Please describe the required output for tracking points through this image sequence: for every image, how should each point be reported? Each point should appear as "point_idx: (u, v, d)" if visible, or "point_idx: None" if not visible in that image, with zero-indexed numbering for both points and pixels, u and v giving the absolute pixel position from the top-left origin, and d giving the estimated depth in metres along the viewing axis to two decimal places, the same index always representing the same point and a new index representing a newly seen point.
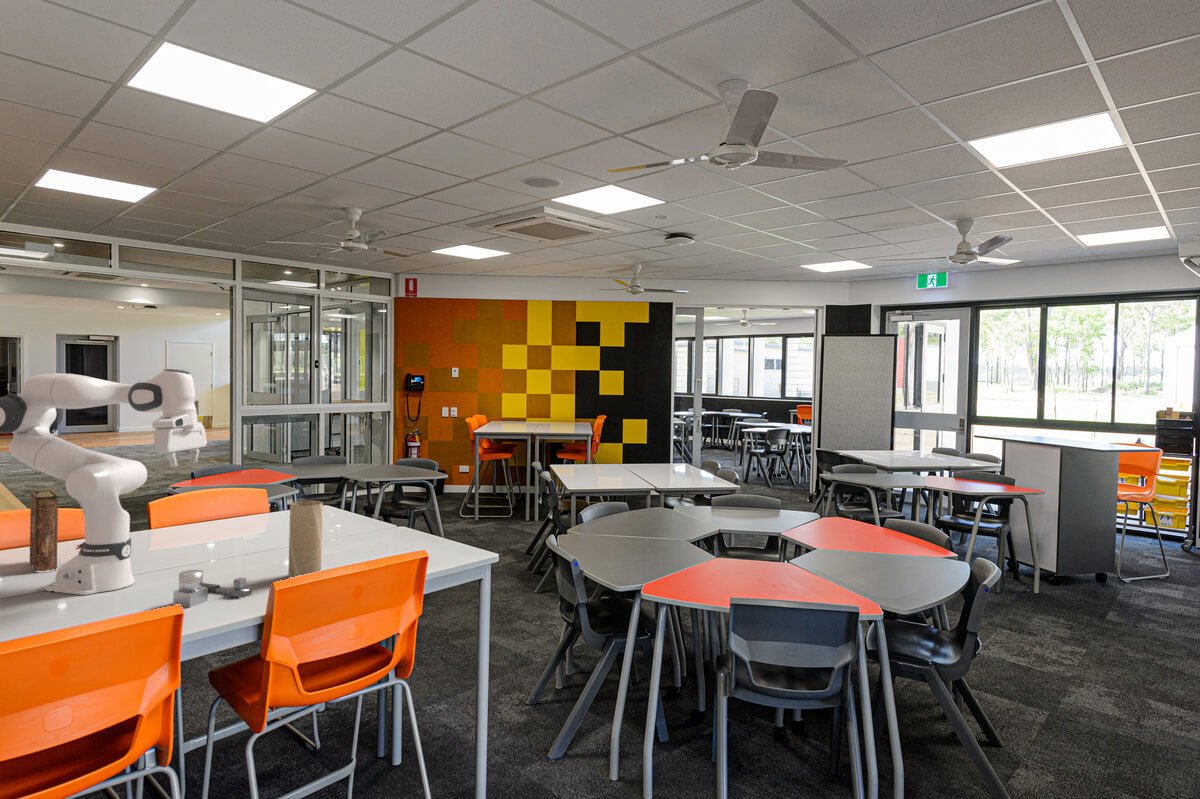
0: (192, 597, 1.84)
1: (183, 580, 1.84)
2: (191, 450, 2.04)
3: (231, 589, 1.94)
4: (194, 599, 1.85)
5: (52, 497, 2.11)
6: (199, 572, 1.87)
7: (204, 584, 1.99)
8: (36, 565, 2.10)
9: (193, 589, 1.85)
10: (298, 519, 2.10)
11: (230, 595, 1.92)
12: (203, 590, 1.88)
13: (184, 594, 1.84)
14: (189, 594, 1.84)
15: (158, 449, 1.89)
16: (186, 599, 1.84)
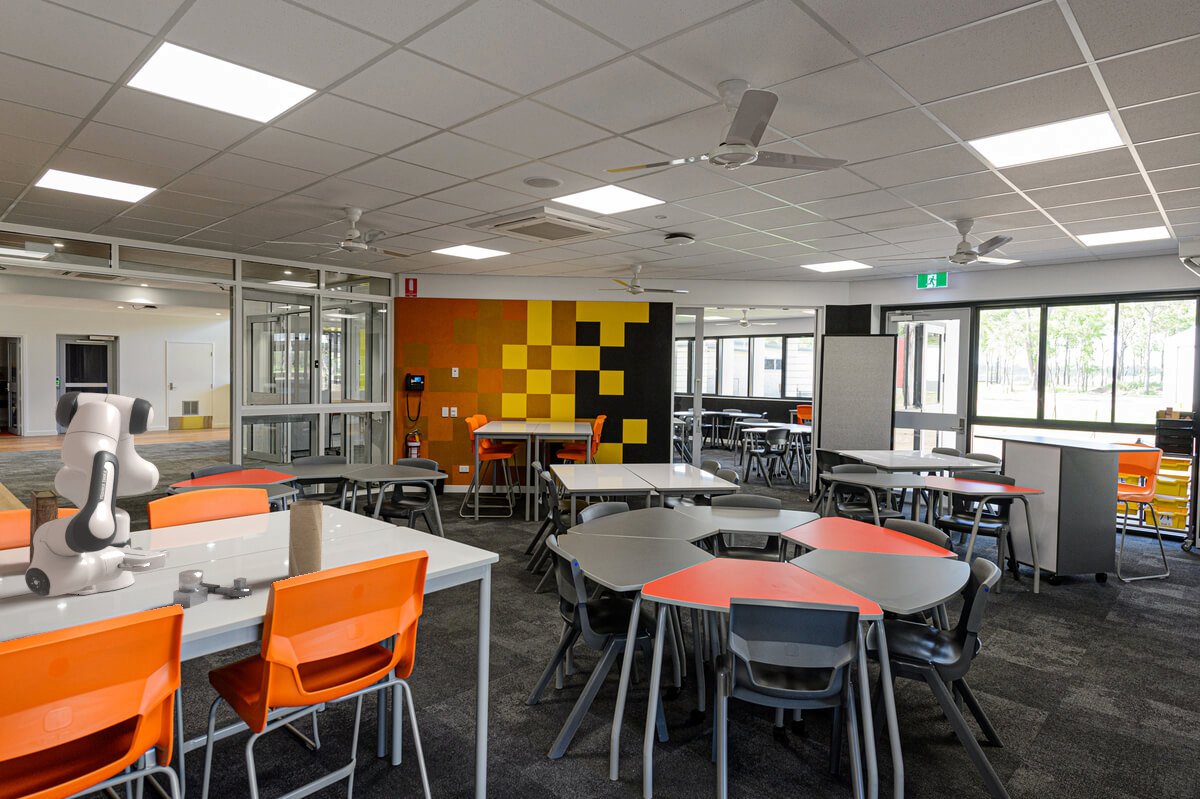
0: (192, 597, 1.84)
1: (183, 580, 1.84)
2: None
3: (231, 589, 1.94)
4: (194, 599, 1.85)
5: (52, 497, 2.11)
6: (199, 572, 1.87)
7: (204, 584, 1.99)
8: None
9: (193, 589, 1.85)
10: (298, 519, 2.10)
11: (230, 595, 1.92)
12: (203, 590, 1.88)
13: (184, 594, 1.84)
14: (189, 594, 1.84)
15: None
16: (186, 599, 1.84)
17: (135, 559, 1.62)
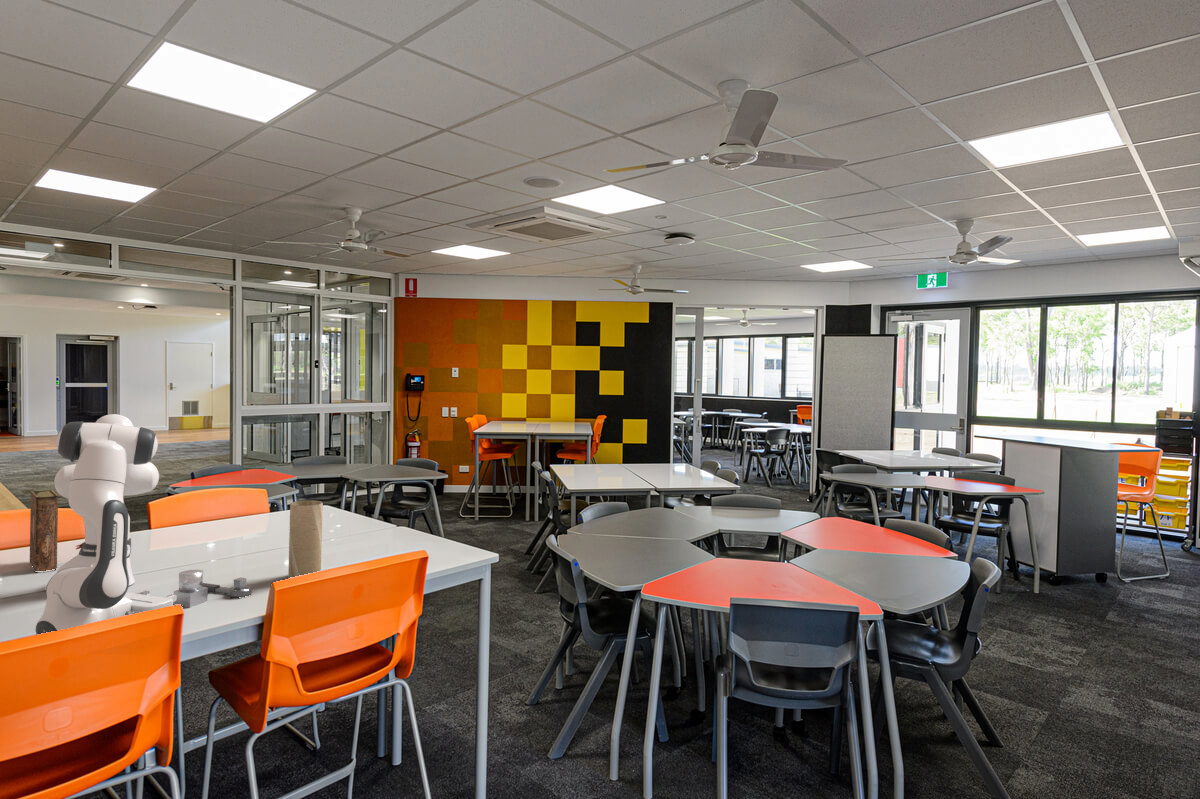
0: (192, 597, 1.84)
1: (183, 580, 1.84)
2: None
3: (231, 589, 1.94)
4: (194, 599, 1.85)
5: (52, 497, 2.11)
6: (199, 572, 1.87)
7: (204, 584, 1.99)
8: (36, 565, 2.10)
9: (193, 589, 1.85)
10: (298, 519, 2.10)
11: (230, 595, 1.92)
12: (203, 590, 1.88)
13: (184, 594, 1.84)
14: (189, 594, 1.84)
15: None
16: (186, 599, 1.84)
17: (142, 607, 1.64)
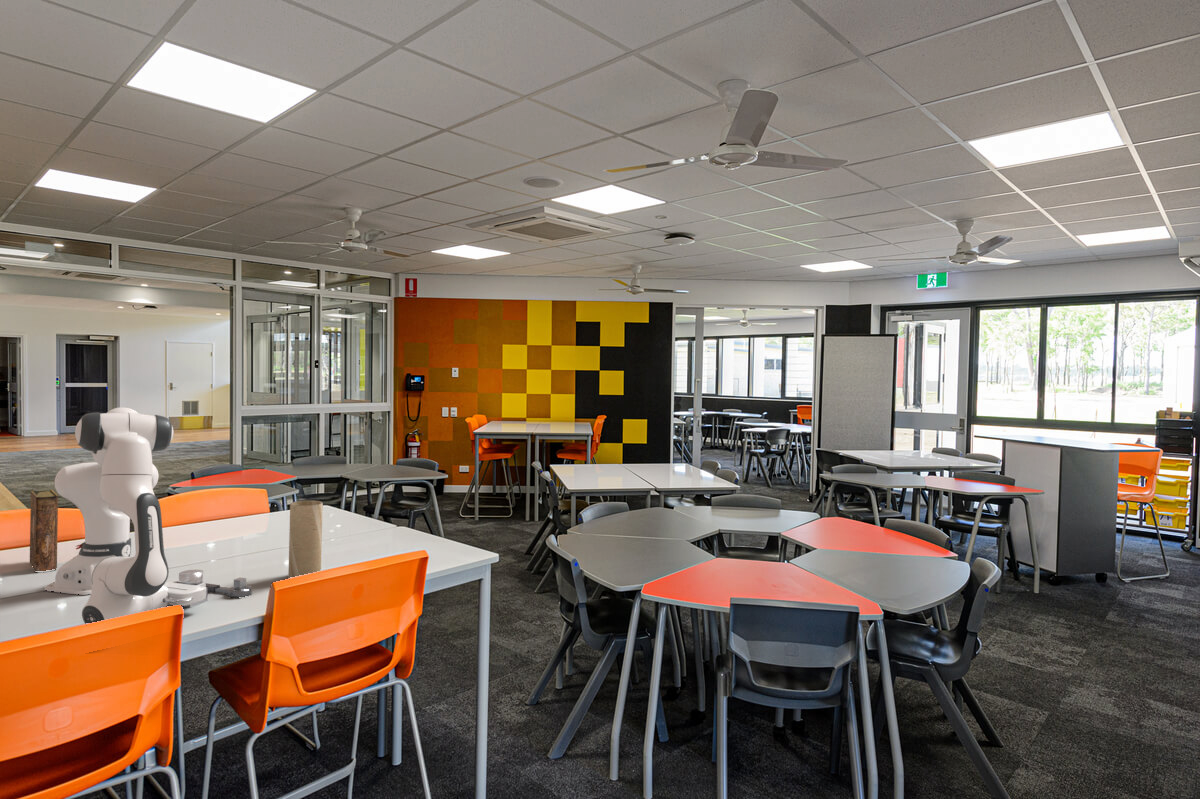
0: None
1: (183, 580, 1.84)
2: None
3: (231, 589, 1.94)
4: None
5: (52, 497, 2.11)
6: (199, 572, 1.87)
7: None
8: (36, 565, 2.10)
9: None
10: (298, 519, 2.10)
11: (230, 595, 1.92)
12: None
13: None
14: None
15: None
16: None
17: (179, 594, 1.75)
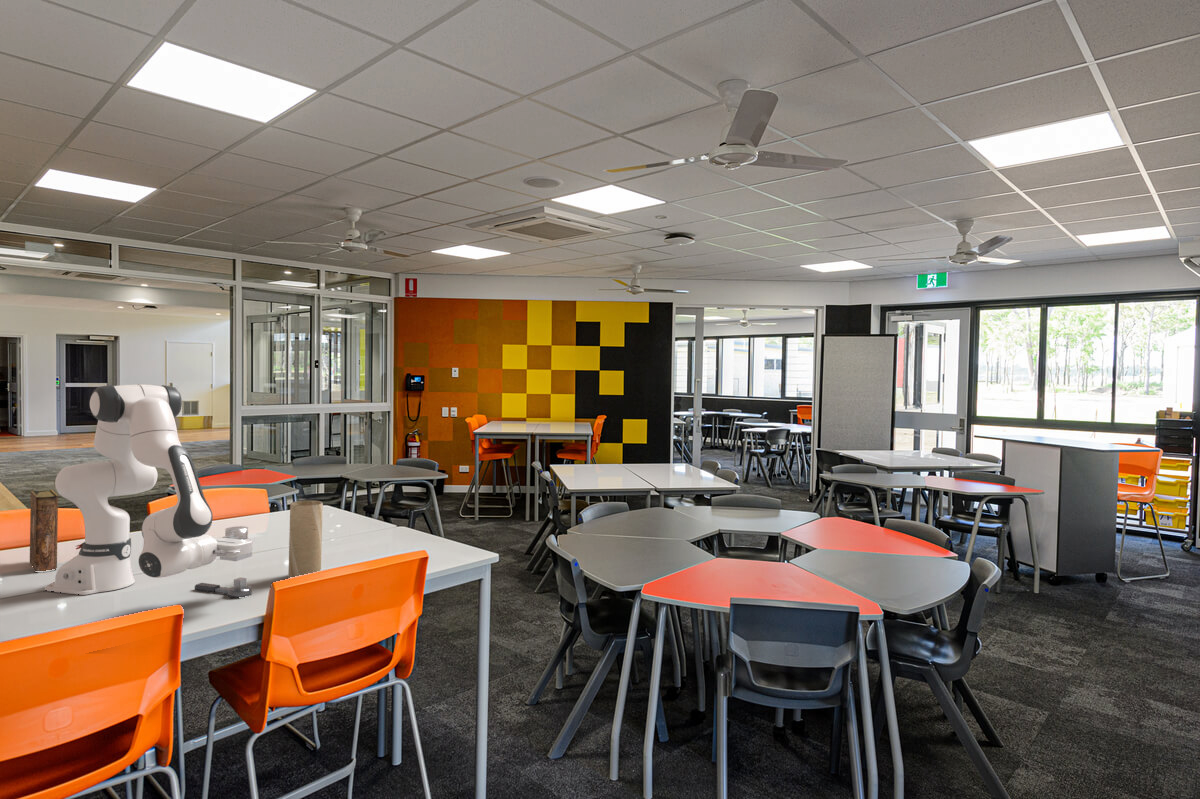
0: None
1: (229, 535, 1.91)
2: None
3: (231, 589, 1.94)
4: None
5: (52, 497, 2.11)
6: (244, 528, 1.94)
7: (204, 584, 1.99)
8: (36, 565, 2.10)
9: None
10: (298, 519, 2.10)
11: (230, 595, 1.92)
12: None
13: None
14: None
15: None
16: None
17: (228, 546, 1.81)
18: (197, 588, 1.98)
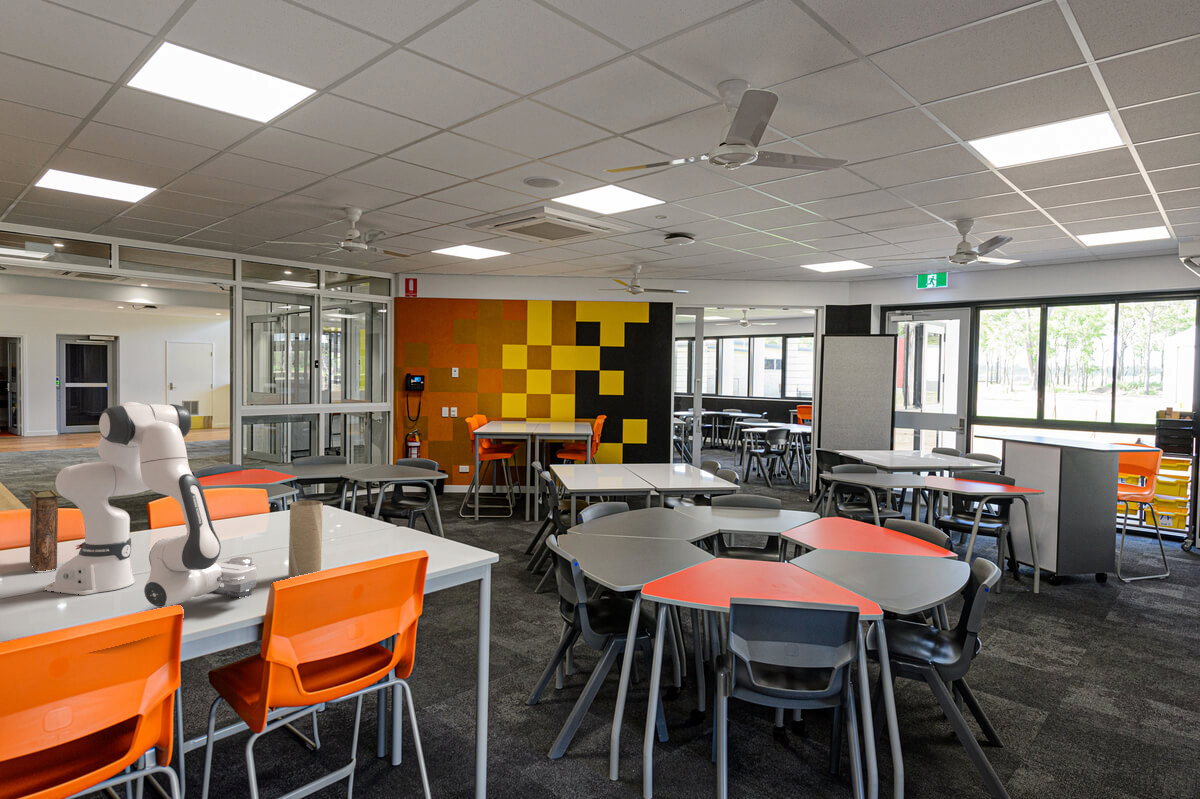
0: None
1: None
2: None
3: None
4: (244, 584, 1.93)
5: (52, 497, 2.11)
6: (248, 559, 1.95)
7: None
8: (36, 565, 2.10)
9: None
10: (298, 519, 2.10)
11: (230, 595, 1.92)
12: None
13: None
14: None
15: None
16: (237, 584, 1.92)
17: (232, 573, 1.83)
18: None
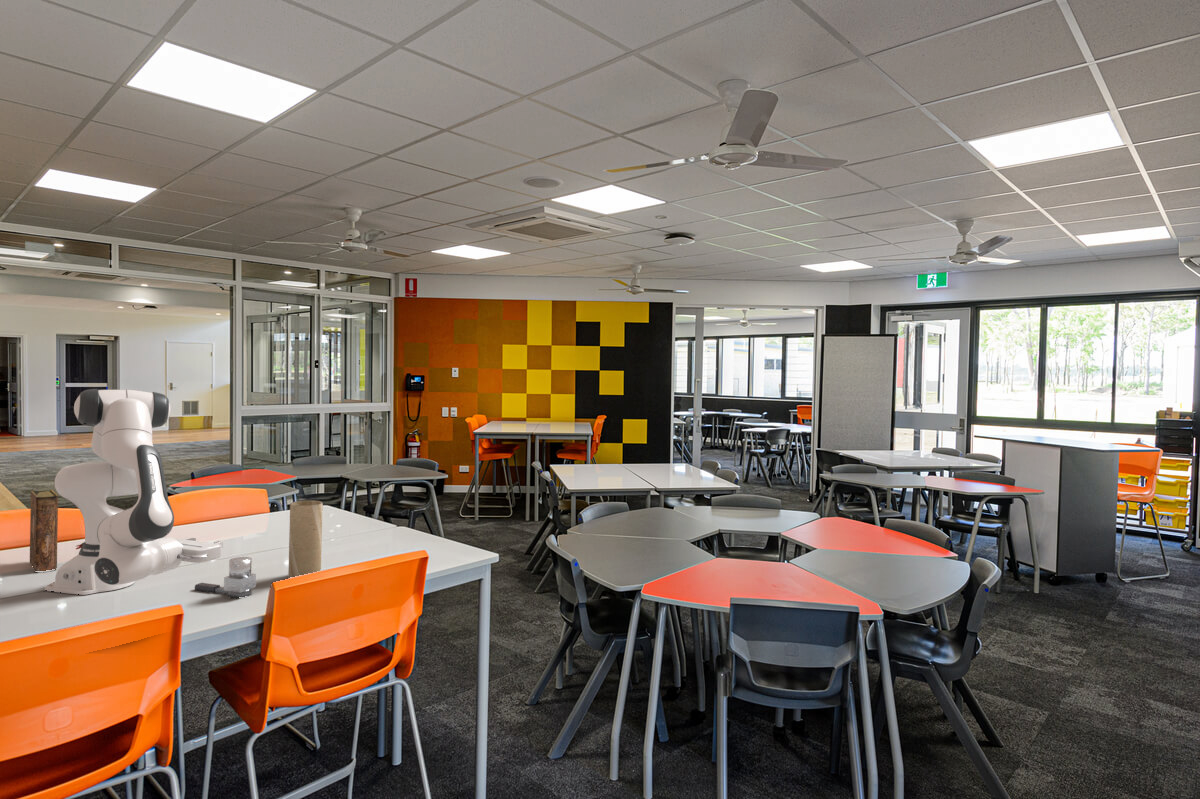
0: (242, 582, 1.92)
1: (233, 567, 1.92)
2: None
3: None
4: (244, 585, 1.93)
5: (52, 497, 2.11)
6: (248, 559, 1.95)
7: (204, 584, 1.99)
8: (36, 565, 2.10)
9: (243, 575, 1.93)
10: (298, 519, 2.10)
11: (230, 595, 1.92)
12: (252, 576, 1.96)
13: (234, 580, 1.92)
14: (239, 580, 1.92)
15: None
16: (237, 584, 1.92)
17: (193, 550, 1.70)
18: (197, 588, 1.98)
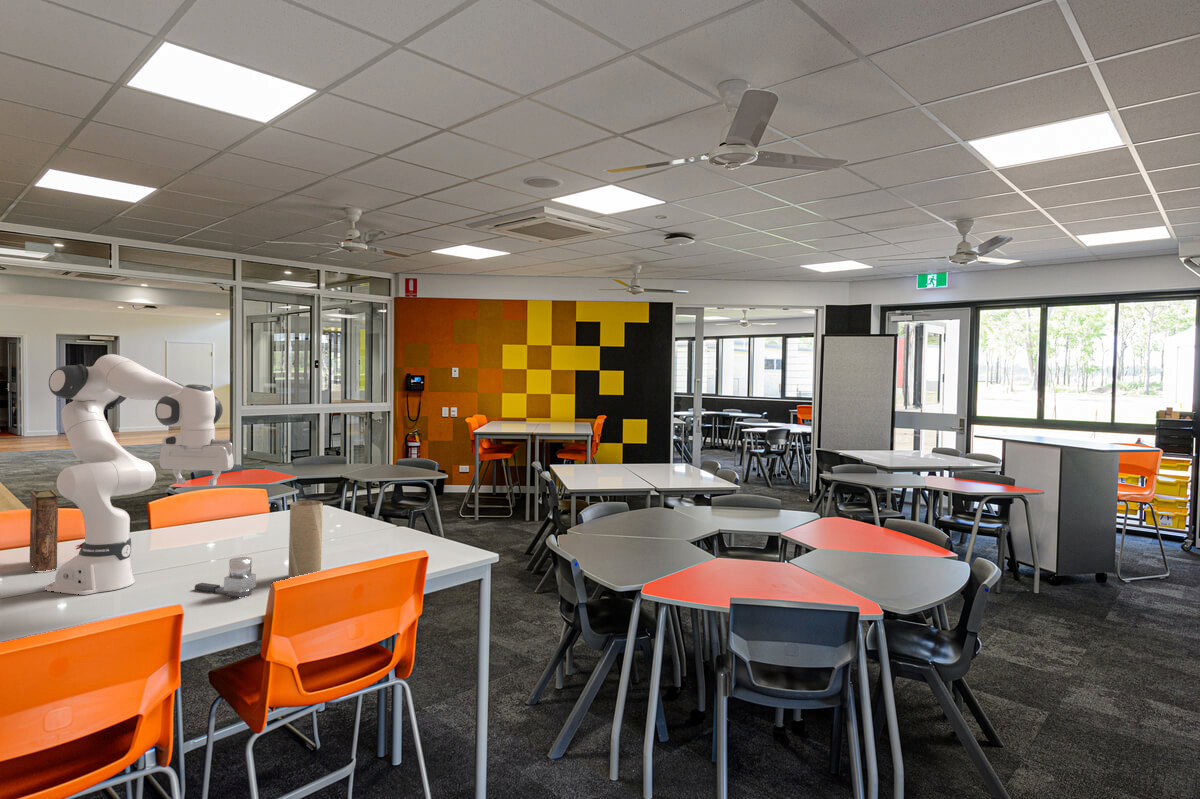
0: (242, 582, 1.92)
1: (233, 567, 1.92)
2: None
3: None
4: (244, 585, 1.93)
5: (52, 497, 2.11)
6: (248, 559, 1.95)
7: (204, 584, 1.99)
8: (36, 565, 2.10)
9: (243, 575, 1.93)
10: (298, 519, 2.10)
11: (230, 595, 1.92)
12: (252, 576, 1.96)
13: (234, 580, 1.92)
14: (239, 580, 1.92)
15: None
16: (237, 584, 1.92)
17: None
18: (197, 588, 1.98)
